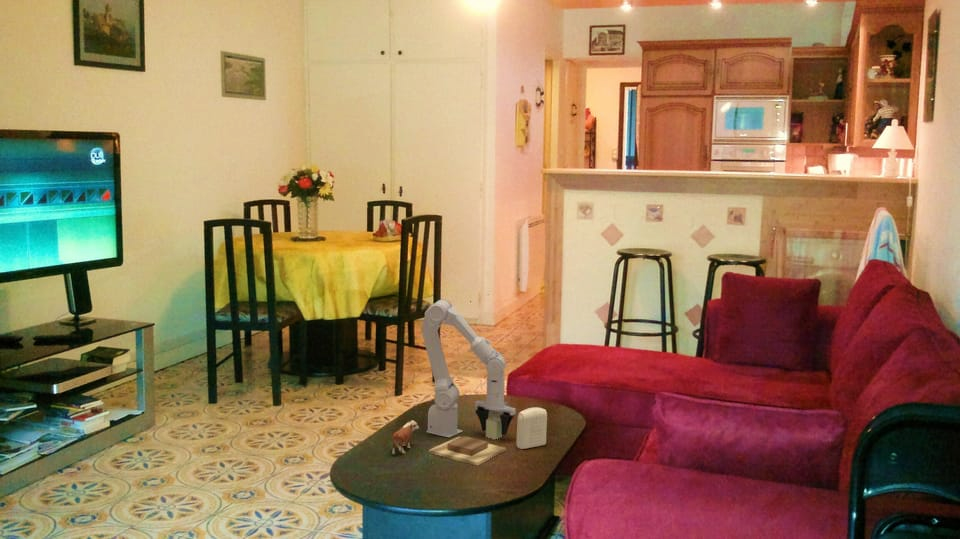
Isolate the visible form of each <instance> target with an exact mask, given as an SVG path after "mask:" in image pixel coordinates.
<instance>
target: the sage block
mask: <svg viewBox="0 0 960 539" xmlns="http://www.w3.org/2000/svg"><path fill="white" fill-rule="evenodd" d="M501 431H502V425H501V419H500V418H495V417H488V419H487V420H486V430H485V438H486V437H488V438H487V439H489V438H492V439H491V440H494V439H497V440H499V439H501V438H503V437H504V436H503V435H502V433H501ZM502 436H503V437H502ZM500 437H501V438H500ZM498 438H499V439H498Z"/></svg>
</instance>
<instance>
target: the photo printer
mask: <svg viewBox="0 0 960 539" xmlns="http://www.w3.org/2000/svg"><path fill="white" fill-rule="evenodd" d="M516 419H517V420H516V441H515V442H516V444H515V445H516V447H517V449H520V450H523V449H529V448H535V447H541V446H545V445H546V444H547V428H548V427H547V424H548V412H547V410H546V409H544V408H542V407H528V408H526V409H523V410H522V411H520V412H519V413H518V414H517V418H516Z"/></svg>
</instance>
